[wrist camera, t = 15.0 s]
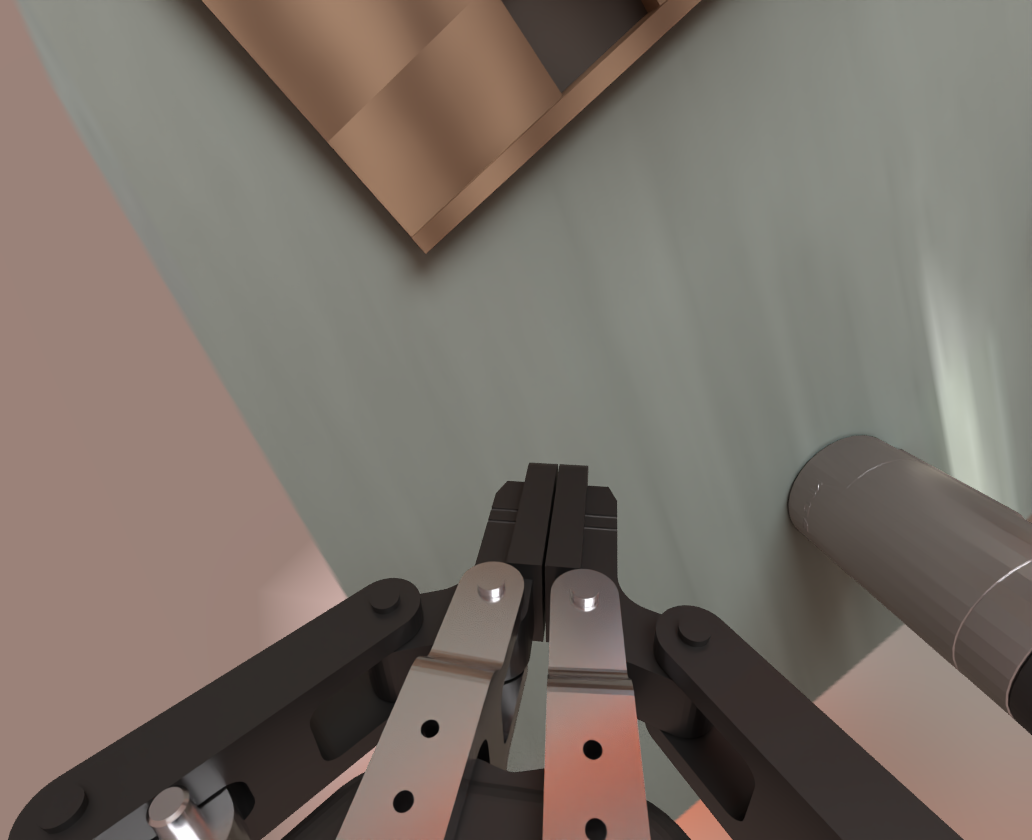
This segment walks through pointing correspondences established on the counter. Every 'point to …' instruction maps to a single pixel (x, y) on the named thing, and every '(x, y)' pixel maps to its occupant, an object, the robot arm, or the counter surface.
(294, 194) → the counter surface
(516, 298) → the counter surface
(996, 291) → the counter surface
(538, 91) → the lane
